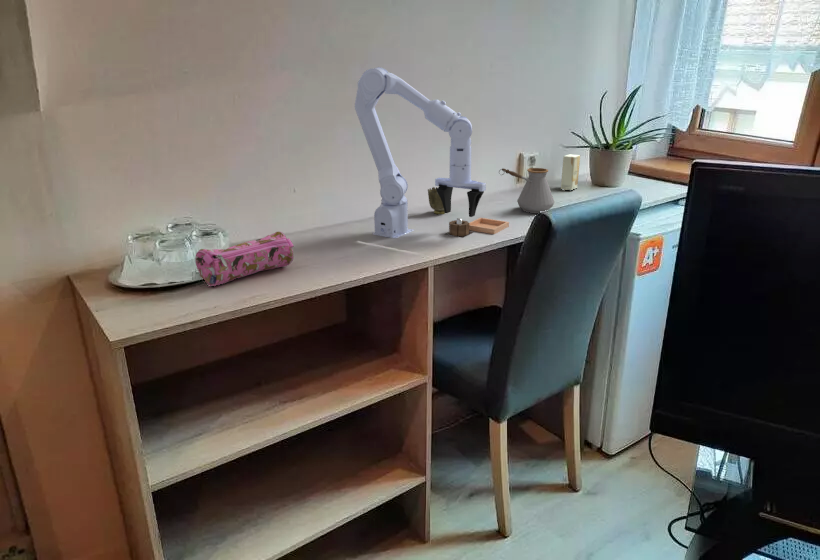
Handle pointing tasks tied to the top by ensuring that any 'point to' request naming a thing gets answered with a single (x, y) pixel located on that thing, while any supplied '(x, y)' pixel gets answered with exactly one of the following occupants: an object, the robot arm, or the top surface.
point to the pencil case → (244, 259)
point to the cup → (435, 201)
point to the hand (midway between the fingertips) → (459, 214)
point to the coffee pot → (534, 191)
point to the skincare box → (570, 172)
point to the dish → (488, 225)
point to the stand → (459, 221)
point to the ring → (459, 228)
